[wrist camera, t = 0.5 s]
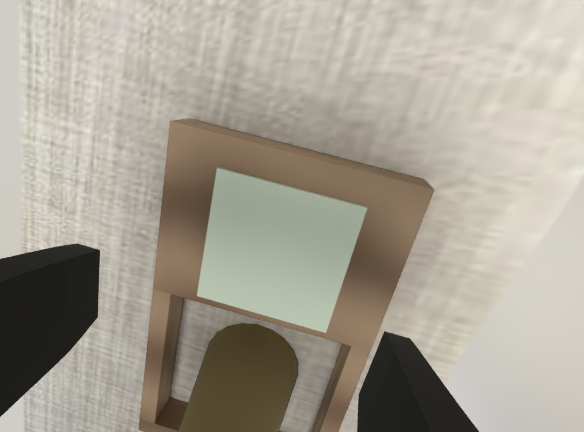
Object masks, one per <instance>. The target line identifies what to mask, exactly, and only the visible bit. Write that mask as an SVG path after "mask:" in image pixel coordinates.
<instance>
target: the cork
mask: <svg viewBox="0 0 584 432" xmlns="http://www.w3.org/2000/svg"><path fill="white" fill-rule="evenodd" d="M297 376H298V360H297V358H296V355H295V352H294V350H293V349H292V347H291V346H290V345H289V344H288V343H287V341H286V340H285V339H284V338H283V337H281V336H280V335H278V334H277V333H275V332H274V331H273V330H270V329H268V328H265V327H262V326H259V325H254V324H243V323H242V324H237V325H232V326H228V327H226V328H224V329H222V330H221V331H219V332H217V333H216V334H215V336H214V337H213V338H212V339H211V341H210V342H209V345H208V348H207V350H206V353H205V356H204V359H203V362H202V365H201V368H200V371H199V374H198V376H197V379H196V382H195V385H194V388H193V391H192V394H191V397H190V400H189V402H188V405H187V408H186V411H185V414H184V417H183V420H182V423H181V426H180V428H179V431H178V432H279V429H280V426H281V423H282V420H283V417H284V415H285V412H286V409H287V406H288V403H289V400H290V397H291V394H292V391H293V388H294V385H295V382H296V379H297Z"/></svg>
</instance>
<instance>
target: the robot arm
mask: <svg viewBox="0 0 584 432" xmlns="http://www.w3.org/2000/svg"><path fill="white" fill-rule="evenodd" d="M99 262H100V250H98V249H94V248H91V247H87V246H84V245H80V244H71V245H64V246H58V247H53V248H48V249H43V250H39V251H34V252H29V253H25V254H20V255H16V256H12V257H7V258H3V259H0V416H2V415H3V414H4V413H5V412H6V411H7V410H8V409H9V408H10V407H11V406H12V405H13V404H14V403H15V402H16V401H18V400H19V398H21V397H22V396H23V395H24V394H25V393H26V392H27V391H28V390H29V389H30V388H31V387H33V386H34V385H35V384H36V383H37V382H38V381H39V380H40V379H41V378H42V377H43V376H44V375H45V374H46V373H47V372H48V371H49V370H50V369H52V368H53V367H54V366H55V365H56V364H57V363H58V362H59V361H60V360H61V359H62V358H63V357H64V356H65V355H66V354H67V353H68V352H69V351H70V350H71V349H72V347H73V346H74V345H75V344H76V343H77V342H78V341H79V339H80V338H81V337H82V336H83V335H84V333H85V332H86V331H87V330H88V328H89V327H90V326H91V325H92V323H93V322H94V321H95V320H96V318H97V317H98V290H99ZM357 432H479V431H478V430H477V428H476V427H475V426H474V424H473V423H472V422H471V421H470V419H469V418H468V417H467V415H466V414H465V413H464V411H463V410H462V409H461V407H460V406H459V405H458V403H457V402H456V401H455V399H454V398H453V396H452V395H451V394H450V392H449V391H448V390H447V388H446V387H445V386H444V384H443V383H442V381H441V380H440V379H439V377H438V376H437V374H436V373H435V372H434V370H433V369H432V367H431V366H430V365H429V363H428V362H427V361H426V359H425V358H424V356H423V355H422V354H421V352H420V351H419V350H418V348H417V347H416V346H415V344H414V343H413V342H412V341H411V339H410V338H406V337H403V336H399V335H395V334H392V333H388V332H385V331H384V334H383V336H382V339H381V341H380V344H379V346H378V349H377V351H376V354H375V356H374V359H373V361H372V363H371V366H370V368H369V371H368V373H367V376H366V378H365V381H364V383H363V386H362V388H361V391H360V393H359V402H358V428H357Z"/></svg>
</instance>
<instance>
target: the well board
mask: <svg viewBox="0 0 584 432" xmlns="http://www.w3.org/2000/svg"><path fill="white" fill-rule="evenodd" d="M433 192H434V189H433V188H432V187H431V186H430V185H429V184H428V183H427V182H426V181H425V180H424V179H420V178H416V177H412V176H409V175H405V174H401V173H397V172H393V171H389V170H385V169H382V168H378V167H374V166H370V165H366V164H362V163H358V162H355V161H351V160H347V159H343V158H339V157H335V156H331V155H328V154H324V153H320V152H316V151H312V150H308V149H304V148H301V147H297V146H293V145H289V144H285V143H281V142H277V141H274V140H270V139H266V138H262V137H258V136H254V135H250V134H247V133H243V132H239V131H235V130H231V129H227V128H223V127H220V126H216V125H212V124H208V123H204V122H200V121H196V120H193V119H182V120H175V121H170V129H169V139H168V149H167V159H166V168H165V178H164V188H163V198H162V207H161V217H160V227H159V237H158V246H157V256H156V266H155V276H154V285H153V295H152V305H151V315H150V324H149V334H148V344H147V354H146V363H145V373H144V383H143V393H142V402H141V412H140V422H139V430H140V431H144V432H178V431H179V428H180V426H181V423H182V420H183V417H184V414H185V411H186V408H187V405H188V404H187V403H184V402H181V401H177V400H174V399H171V398H169V397H170V390H171V383H172V376H173V369H174V361H175V354H176V347H177V340H178V333H179V326H180V319H181V312H182V305H183V298H186V299H190V300H193V301H197V302H200V303H204V304H207V305H211V306H214V307H217V308H221V309H224V310H228V311H231V312H235V313H238V314H242V315H245V316H249V317H252V318H255V319H259V320H262V321H266V322H269V323H273V324H276V325H280V326H283V327H287V328H290V329H294V330H297V331H300V332H304V333H307V334H311V335H314V336H318V337H321V338H325V339H328V340H332V341H335V342H338V343H342V344H343V345H342V348H341V351H340V354H339V357H338V359H337V362H336V365H335V368H334V370H333V373H332V376H331V379H330V382H329V384H328V387H327V390H326V393H325V396H324V398H323V401H322V404H321V407H320V410H319V412H318V415H317V418H316V421H315V424H314V426H313V429H312V432H338V431H339V429H340V426H341V424H342V421H343V419H344V416H345V414H346V411H347V409H348V406H349V404H350V401H351V399H352V396H353V394H354V391H355V388H356V386H357V383H358V381H359V378H360V376H361V373H362V371H363V368H364V366H365V363H366V361H367V358H368V356H369V353H370V351H371V348H372V346H373V343H374V341H375V338H376V336H377V333H378V331H379V328H380V326H381V323H382V321H383V318H384V316H385V313H386V311H387V308H388V305H389V303H390V300H391V298H392V295H393V293H394V290H395V288H396V285H397V283H398V280H399V278H400V275H401V273H402V270H403V268H404V265H405V263H406V260H407V258H408V255H409V253H410V250H411V248H412V245H413V243H414V240H415V238H416V235H417V233H418V230H419V228H420V225H421V222H422V220H423V217H424V215H425V212H426V210H427V207H428V205H429V202H430V200H431V197H432V195H433Z"/></svg>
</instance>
